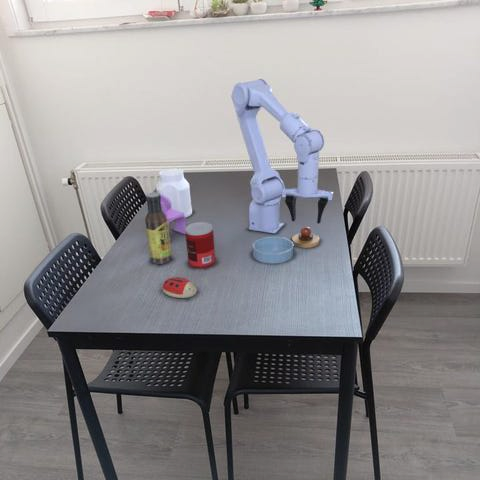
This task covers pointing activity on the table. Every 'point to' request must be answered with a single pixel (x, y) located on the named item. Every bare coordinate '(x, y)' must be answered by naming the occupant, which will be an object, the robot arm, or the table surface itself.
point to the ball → (305, 231)
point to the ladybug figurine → (179, 288)
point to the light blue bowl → (273, 250)
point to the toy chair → (173, 214)
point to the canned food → (200, 245)
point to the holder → (305, 240)
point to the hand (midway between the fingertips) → (306, 221)
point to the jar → (175, 190)
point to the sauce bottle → (157, 230)
